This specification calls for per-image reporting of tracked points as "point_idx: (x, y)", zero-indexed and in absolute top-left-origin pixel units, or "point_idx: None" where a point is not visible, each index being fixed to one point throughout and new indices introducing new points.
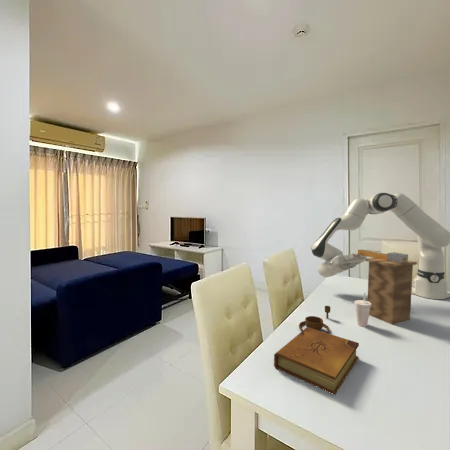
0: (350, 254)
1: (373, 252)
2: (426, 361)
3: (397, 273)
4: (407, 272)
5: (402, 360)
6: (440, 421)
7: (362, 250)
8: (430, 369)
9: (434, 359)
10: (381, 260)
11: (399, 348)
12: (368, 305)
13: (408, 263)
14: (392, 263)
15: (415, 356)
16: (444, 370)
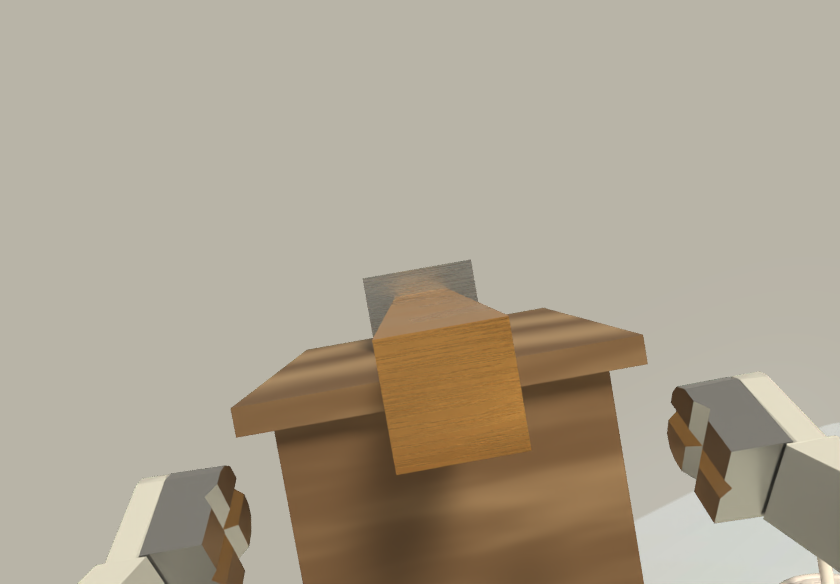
0: (791, 402)
1: (449, 298)
2: (686, 530)
3: None
4: None
5: (775, 535)
6: None
7: (465, 311)
8: (704, 510)
9: (647, 534)
10: (515, 334)
11: (739, 577)
12: (812, 574)
13: None
14: (522, 316)
15: (705, 545)
16: (663, 507)
